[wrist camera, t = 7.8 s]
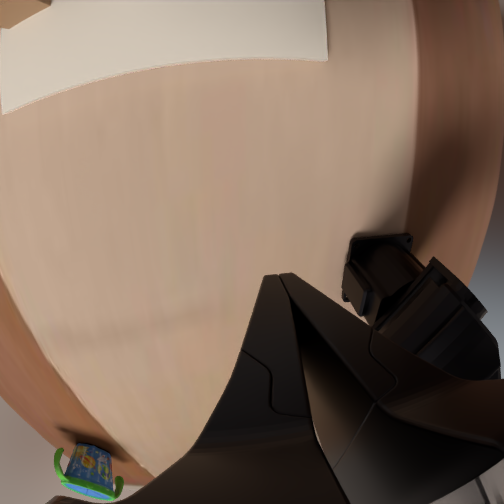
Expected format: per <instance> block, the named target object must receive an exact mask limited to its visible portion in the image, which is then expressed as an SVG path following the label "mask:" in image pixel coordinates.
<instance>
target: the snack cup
mask: <svg viewBox="0 0 504 504" xmlns="http://www.w3.org/2000/svg"><path fill="white" fill-rule="evenodd" d="M63 451H64V449H63V448H59V449H58V450H57V451H56V453H55V455H54V467H55V471H56V473H57V475H58V477H59V478H60V479H61V483H62V485H64V486H65V487H67V488H68V489H70V490H72V491H75V492H77V493H80V494H83V495H85V496H89V497H92V498H96V499H101V500H108V501H112V500H115V499H116V498H118V497H119V496H120V494H121V492H122V489H123V485H124V480H123V478H122V477H121V476H117V477H116V478H115V485H116V489H115V492H114V491H113V480H112V465H111V456H110V454H109V453H108V452H106V451H104V450H102V449H99V448H97V447H95V446H94V445H92V446H91V445H88V444H81V443H78V444H77V445H76V446H75V448H74V450H73V454H72V456H71V458H70V461H69V464H68V467H67V470H66V472H65V474H63V471H62V469H61V466H60V463H59V462H60V458H61V456H62V453H63Z"/></svg>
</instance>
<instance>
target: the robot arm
mask: <svg viewBox="0 0 504 504" xmlns="http://www.w3.org/2000/svg"><path fill="white" fill-rule="evenodd" d="M408 238H409V239H408ZM407 239H408V240H407ZM412 242H413V236H411V235H410V234H409V233H405V234H394V235H383V236H372V237H360V238H354V239H352V240H351V241H350V244H349V252H348V259H347V262H346V264H345V268H344V274H343V281H342V289H343V290H342V299H343V301H344V302H351V304H352V306H353V307H354V309H355V311H356V312H357V314H358V315H359V316H360V317H362V316H364V317H365V319H366V321H367V322H368V324H369V325H368V324H366V323H365V322H363V321H362V320H360V319H359V318H358V317H356V316H355V315H353V314H352V313H350V312H349V311H347V310H346V309H345V308H343V307H342V306H340V305H339V304H337V303H336V302H334V301H333V300H332V299H330V298H329V297H327V296H326V295H324V294H323V293H321V292H320V291H318V290H317V289H316V288H314V287H313V286H311V285H310V284H308V283H307V282H305V281H304V280H302V279H301V278H300V277H298V276H297V275H295V274H294V273H283V274H279V276H278V275H277V274H273V275H265V276H264V277H263V280H262V283H261V287H260V290H259V293H258V296H257V299H256V303H255V306H254V309H253V312H252V315H251V318H250V322H249V325H248V328H247V331H246V334H245V337H244V341H243V344H242V347H241V350H240V352H239V355H238V359H237V362H236V364H235V367H234V370H233V372H232V375H231V378H230V380H229V382H228V384H227V386H226V388H225V390H224V392H223V394H222V396H221V398H220V400H219V402H218V403H217V405H216V407H215V409H214V411H213V413H212V414H211V416H210V418H209V420H208V422H207V423H206V425H205V427H204V429H203V431H202V432H201V434H200V436H199V437H198V439H197V440H196V442H195V443H194V445H193V446H192V447H191V449H190V450H189V451H188V452H187V453H186V454H185V455H184V456H183V457H182V458H180V459H179V460H178V461H177V462H175V463H174V464H173V465H172V466H170V467H169V468H168V469H166V470H165V471H164V472H163V473H161V474H160V475H159V476H157V477H156V478H155V479H153V480H152V481H151V482H149V483H148V484H147V485H145V486H144V487H142V488H141V489H140V490H138V491H137V492H135V493H134V494H133V495H131V496H129V497H127V498H125V499H123V500H120V501H117V502H114V503H104V504H504V379H501V372H500V367H501V366H500V357H499V349H498V343H497V340H496V339H495V337H494V336H493V335H492V334H491V332H490V331H489V330H488V329H487V327H486V326H485V325H484V324H483V323H482V321H481V319H482V318H483V316H484V315H485V314H486V313H487V310H486V309H485V307H484V306H483V305H482V304H481V302H480V301H479V300H478V299H477V298H476V297H475V295H474V294H473V293H472V292H471V291H470V290H469V289H468V288H467V287H466V286H465V285H464V284H463V283H462V282H461V281H460V280H459V279H458V278H457V277H456V276H455V275H454V274H453V273H452V272H451V271H450V270H448V269H447V268H446V267H445V266H444V265H443V264H442V263H441V262H439V261H438V260H437V259H436V258H435V257H434V256H433V257H432V259H431V260H430V261H429V262H430V263H429V264H428V265H427V267H425V266H424V265H423V264H422V263H421V262H420V261H419V260H418V259H417V258H415V257H414V256H413V255H412V254H411V253H410V251H411V247H412ZM356 243H357V245H356V246H354V245H355V244H356ZM312 419H313V420H312ZM313 422H314V425H315V428H316V431H317V434H318V436H319V439H320V442H321V445H322V448H323V450H322V448H321V446H320V444H319V442H318V440H317V437H316V434H315V430H314V425H313ZM323 451H324V452H323ZM46 504H102V503H92V502H88V501H84V500H79V499H75V498H71V497H66V496H55V497H53V498H52V499H51V500H49V502H47V503H46Z"/></svg>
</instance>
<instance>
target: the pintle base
mask: <svg viewBox="0 0 504 504" xmlns="http://www.w3.org/2000/svg"><path fill="white" fill-rule="evenodd" d="M0 28H1V39H0V93H1V106H2V115H3V114H7V113H10V112H13V111H15V110H17V109H19V108H22V107H24V106H26V105H29V104H31V103H34V102H36V101H39V100H41V99H44V98H47V97H49V96H52V95H55V94H58V93H61V92H64V91H67V90H70V89H73V88H76V87H79V86H83V85H86V84H89V83H93V82H97V81H100V80H104V79H108V78H112V77H116V76H120V75H125V74H129V73H134V72H139V71H144V70H150V69H156V68H162V67H168V66H175V65H183V64H191V63H200V62H212V61H226V60H251V59H279V60H303V61H318V62H324V61H328V50H327V30H326V15H325V2H324V0H0Z"/></svg>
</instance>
